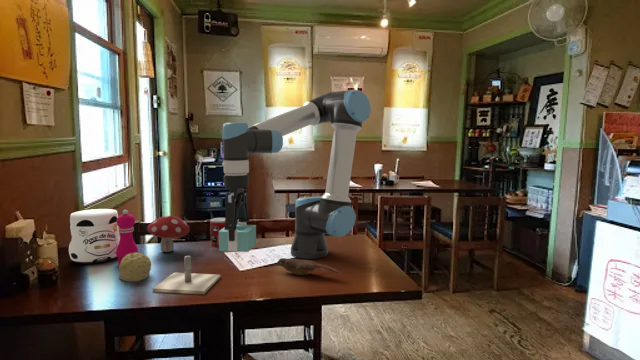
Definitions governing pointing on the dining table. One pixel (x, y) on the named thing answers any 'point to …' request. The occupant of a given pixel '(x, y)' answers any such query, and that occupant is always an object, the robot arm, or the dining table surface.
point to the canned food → (216, 229)
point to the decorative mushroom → (168, 230)
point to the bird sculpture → (303, 266)
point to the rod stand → (187, 281)
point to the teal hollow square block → (239, 238)
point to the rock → (134, 267)
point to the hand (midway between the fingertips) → (238, 246)
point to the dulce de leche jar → (94, 236)
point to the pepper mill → (125, 236)
